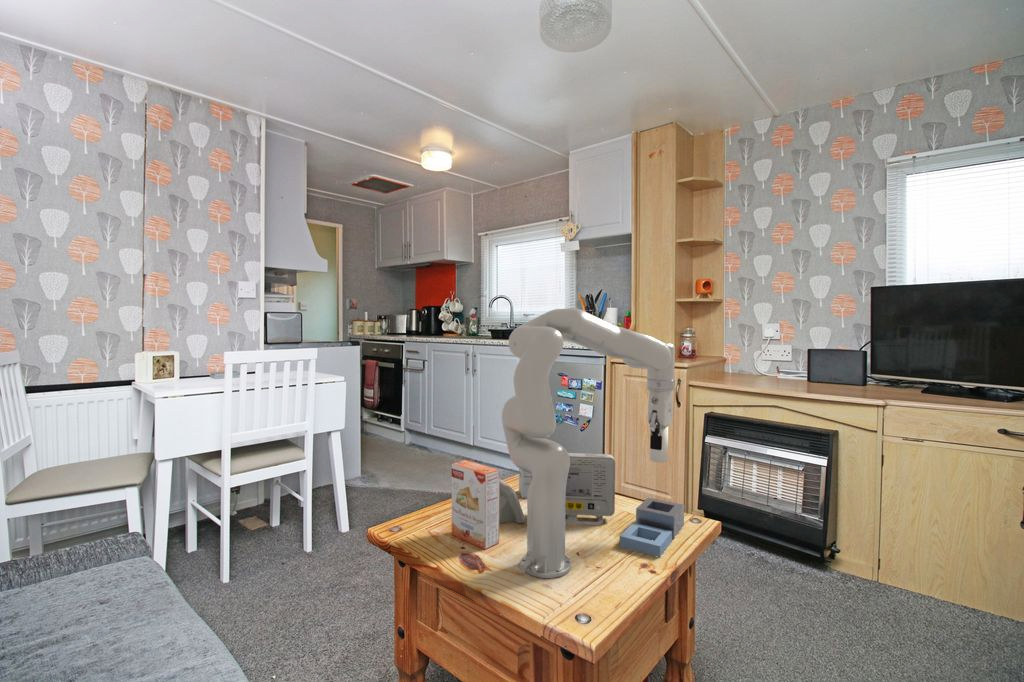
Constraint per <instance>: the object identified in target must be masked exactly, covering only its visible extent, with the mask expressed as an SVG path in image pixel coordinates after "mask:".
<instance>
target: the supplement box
mask: <svg viewBox="0 0 1024 682" xmlns="http://www.w3.org/2000/svg"><path fill="white" fill-rule="evenodd" d="M530 484H531V474H530V473H528V472H526V471H524V470H522V469H520V468H518V492H519V494H520V496H521V498H522V499H527V495H528V490H529V487H530Z"/></svg>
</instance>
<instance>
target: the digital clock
mask: <svg viewBox="0 0 1024 682" xmlns="http://www.w3.org/2000/svg"><path fill="white" fill-rule="evenodd" d="M512 521H513V522H516V523H517V524H524V523H525V521H526V518H525V515H524V512H523V509H522V506H521V503H520V500H519V497H518V494H517V493H516V491H515V490H514V489H513V488H512V487H511V486H509V485H508V483H506V482H505V481H503V480H502V479H501V478H500V477H499V524H506V523H505V522H507V523H512Z"/></svg>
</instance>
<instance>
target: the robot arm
mask: <svg viewBox="0 0 1024 682" xmlns="http://www.w3.org/2000/svg"><path fill="white" fill-rule="evenodd" d="M564 342H571V343H574V344H577V345H579V346H581V347H583V348H586V349H589V350H591V351H593V352H595V353H597V354H600V355H603V356H607V357H611V358H617V359H618V358H619V359H622V362H623V363H624V364H625V365H626V366H627V367H630V368H633V369H638V370H639V369H641V370H646V371H647V372H646V373H647V374H646V375H647V376H646V380H647V381H646V390H647V391H649V394H648V401H647V402H648V404H647V405H648V406H647V423H648V424H649V428H650V429H651V431H650V430H649V431H650V432H649V433H650V437H649V439H650V440H649V449H650V448H651V449H655V450H661V449H662V436H661V429H662V426H668V427H669V424H671V423H673V421H674V404H673V403H674V402H673V392H674V391H675V366H676V365H675V359H676V347H675V345H674V344H672V343H670V342H662V341H660V340H658V339H656V338H654V337H653V336H649V335H647V334H643V333H641V332H638V331H633V330H630V329H628V328H625V327H622V326H618V325H616V324H613V323H610V322H608V321H606V320H604V319H602V318H600V317H598V316H595V315H594V314H591V313H589V312H587V311H585V310H583V309H580V308H571V307H570V308H555V309H552V310H550V311H547V312H545V313H543V314H540V315H538V316H536V317H535V318H532V319H531V320H528V321H526V322H525V323H522V324H521V325H518V327H515V329H514V330H512V332H511V334H510V335H509V337H508V344H507V345H508V348H509V351H510V352H511V354H512V355H514V356H515V357H516V358H519V361H518V363H517V365H516V367H515V369H514V372H513V373H514V375H513V389H514V393H515V395H513V396H511V397H510V398H508V399H507V401H506V402H505V403H504V405H503V408H502V412H501V424H502V428H503V432H504V436H505V437H504V438H505V442H506V446H507V450H508V455H509V457H510V459H511V462H512V463H513V464H514V465H515V466H516V467H517V468H518V469H519V468H520V469H522V470H524V471H526V472H528V473H530V474H532V475H533V478H532V482H531V484H530V487H529V490H528V495H527V498H526V504H527V507H526V509H527V511H526V514H527V515H526V516H527V518H526V523H527V524H526V528H527V529H526V530H527V531H526V536H527V537H526V541H527V542H526V552H525V554H524V555H523V556H521V559H520V564H519V566H518V569H519V570H518V571H520V572H521V573H527V574H528V575H530V576H531V577H532V576H533V577H537V578H541V579H542V578H543V579H553V578H561V577H563V576H564V575H566V574H568V573H569V572H570V571H571V569H572V561H571V559H570V558H569V557H568V556H567V555H566V524H565V520H566V514H565V508H566V505H565V499H566V483H567V477H568V472H569V467H570V458H569V455H568V453H569V452H568V451H567V449H566V448H565V447H564V446H563V445H561V444H560V443H558V442H556V441H553V440H551V439H548V438H549V437H550V436H552V435H553V433H554V432H555V430H556V429H557V428H556V427H557V421H556V420H557V417H556V411H555V407H554V403H553V398H552V394H551V393H552V392H551V387H550V379H549V377H550V373H551V369H552V368H553V365H554V364H555V362H556V361H557V359H558V358H559V356H560V355H561V353H562V351H563V349H564ZM656 424H660V425H656ZM656 427H659V429H658V428H656Z"/></svg>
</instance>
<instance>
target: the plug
mask: <svg viewBox="0 0 1024 682" xmlns="http://www.w3.org/2000/svg"><path fill="white" fill-rule="evenodd" d="M656 425H660V424H657V423H656ZM656 428H658V429H659V427H656ZM649 431H651V429H650V430H649ZM661 436H662V449H661V450H655V449H651V448H650V447H649V461H651V462H655V463H667V462H668V458H669V457H668V456H669V455H668V453H669V452H668V451H669V450H668V448H669V425H668V426H662V429H661Z"/></svg>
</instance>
